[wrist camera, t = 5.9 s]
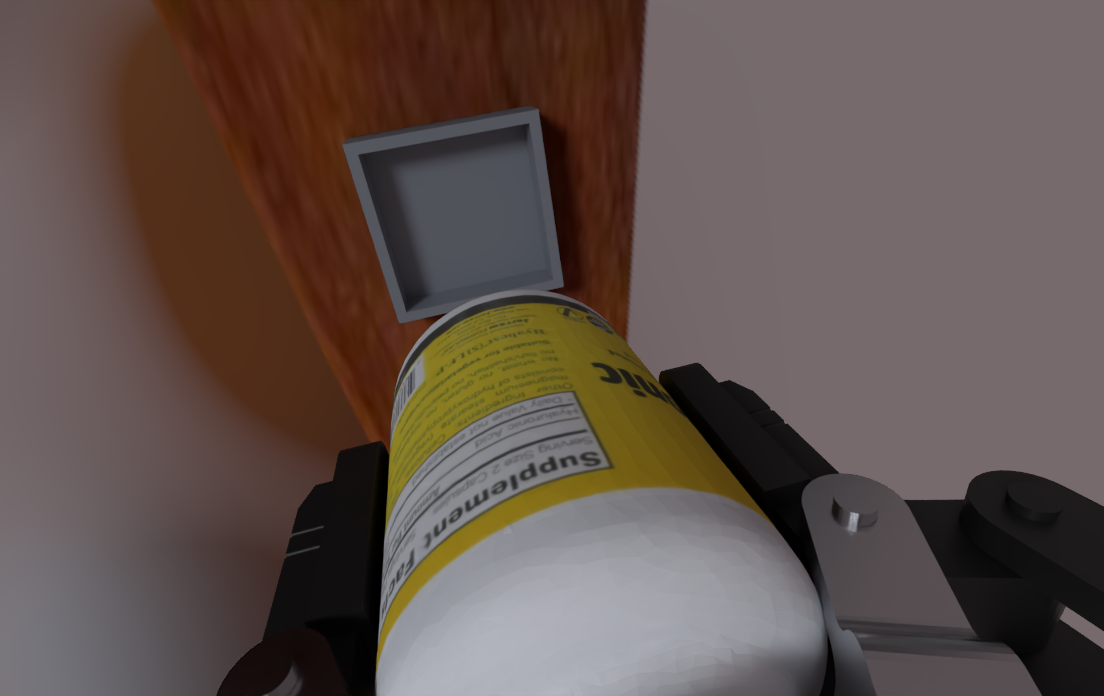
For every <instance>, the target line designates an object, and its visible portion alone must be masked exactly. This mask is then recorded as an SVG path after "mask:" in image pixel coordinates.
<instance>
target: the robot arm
mask: <svg viewBox="0 0 1104 696" xmlns="http://www.w3.org/2000/svg"><path fill="white" fill-rule="evenodd" d="M659 383H660V384H661V386H662V387H663V388H664V389H665V390H666V392H667V393H668V394H669V395H670V397H671V398H672V399H673V401H674V402H675V403H676V404H677V405H678V407H679V408H680V409H681V410H682V411H683V412H684V414H685V415H686V416H687V418H688V419H689V420H690V422H691V423H692V424H693V425H694V427H695V428H696V429H697V430H698V431H699V433H700V434H701V435H702V436H703V438H704V439H705V440H706V442H707V443H708V444H709V445H710V447H711V448H712V449H713V451H714V452H715V453H716V454H717V456H718V457H719V458H720V459H721V461H722V462H723V463H724V464H725V465H726V467H727V468H728V469H729V470H730V472H731V473H732V474H733V475H734V476H735V478H736V479H737V480H738V481H739V483H740V484H741V485H742V486H743V488H744V489H745V490H746V491H747V493H748V494H749V495H750V496H751V498H752V499H753V500H754V501H755V503H756V504H757V505H758V506H759V507H760V509H761V510H762V511H763V512H764V514H765V515H766V516H767V517H768V518H769V520H770V521H771V522H772V523H773V525H774V526H775V527H776V529H777V530H778V531H779V533H780V534H781V535H782V537H783V538H784V540H785V541H786V542H787V544H788V545H789V546H790V548H791V549H792V550H793V552H794V553H795V555H796V556H797V557H798V559H799V560H800V562H801V563H802V565H803V566H804V568H805V569H806V571H807V573H808V575H809V576H810V578H811V580H812V582H813V584H814V586H815V588H816V591H817V593H818V596H819V599H820V602H821V606H822V611H823V617H824V621H825V624H826V629H827V640H828V654H827V664H826V672H825V677H824V682H823V686H822V689H821V692H820V695H819V696H1104V649H1102V648H1101V647H1099V646H1098V645H1096V644H1095V643H1094V642H1092V641H1091V640H1089V639H1088V638H1086V637H1085V636H1084V635H1082V634H1081V633H1079V632H1078V631H1076V630H1075V629H1073V628H1072V627H1070V626H1069V625H1068V624H1066V623H1064V622H1063V621H1061V620H1060V616H1061V615H1062V613H1063V611H1064V609H1065V607H1066V606H1067V607H1068V608H1070V609H1071V610H1073V611H1074V612H1076V613H1077V614H1079V615H1080V616H1082V617H1083V618H1085V619H1086V620H1088V621H1089V622H1091V623H1092V624H1094V625H1095V626H1097V627H1098V628H1100V629H1101V630H1103V631H1104V506H1101V505H1099V504H1098V503H1096V502H1094V501H1092V500H1090V499H1088V498H1086V497H1084V496H1082V495H1080V494H1078V493H1076V492H1074V491H1072V490H1070V489H1068V488H1066V487H1064V486H1062V485H1060V484H1058V483H1056V482H1054V481H1051V480H1048V479H1046V478H1043V477H1039V476H1036V475H1033V474H1028V473H1023V472H1016V471H1003V470H1002V471H1001V470H1000V471H991V472H986V473H983V474H980V475H978V476H976V477H975V478H974V479H973V480H972V481H971V482H970V483H969V487H968V489H967V493H966V496H965V499H964V500H903V499H902V498H901V497H900V496H899V495H898V494H896V493H895V492H894V491H893V490H891V489H890V488H888V487H887V486H885V485H883V484H881V483H879V482H877V481H874V480H872V479H869V478H866V477H862V476H858V475H852V474H840V473H839V472H838V471H836V470H835V469H834V468H833V467H832V466H831V465H830V464H829V463H828V462H827V461H826V460H825V459H824V458H823V457H822V456H821V455H820V454H819V453H818V452H817V451H815V449H813V448H812V447H811V446H810V445H809V444H808V443H807V442H806V441H805V440H804V439H803V438H802V437H801V436H800V435H799V434H798V433H797V432H795V430H794V429H792V428H791V427H790V426H789V425H788V424H785V423H784V420H783V419H782V418H781V417H780V416H779V415H778V414H777V413H776V412H775V411H773V410H772V411H771V410H770V407H769V406H768V405H767V404H766V403H765V402H764V401H763V400H762V399H761V398H760V397H759V396H758V395H757V394H756V393H754V391H752V390H750V389H747V388H745V387H743V386H741V385H739V384H737V383H735V382H732V381H730V380H728V381H724V382H720V383H718V382H717V381H716V380H715V379H714V378H713V377H712V376H711V374H710V373H709V372H708V371H707V370H706V369H705V368H704V367H703V366H702V365H701V364H699V363H693V364H689V365H685V366H681V367H677V368H673V369H669V370H665V371H661V373H660V375H659ZM388 474H389V454H388V451H387V449H386V447H385V445H384V443H383V442H382V441H377V442H373V443H370V444H365V445H361V446H357V447H354V448H350V449H345V450H341V451H340V452H339V454H338V458H337V463H336V468H335V473H334V478H333V481H330V482H327V483H323V484H319V485H316V486H315V487H314V488H313V489H312V491H311V492H310V493H309V495H308V496H307V497H306V499H305V500H304V502H303V503H302V504H301V506H300V507H299V508H298V511H297V515H296V519H295V522H294V526H293V530H292V538H290V540H289V544H288V548H287V551H286V555H287V558H285V559H284V562H283V566H282V570H281V574H280V577H279V581H278V585H277V588H276V592H275V596H274V599H273V603H272V607H271V610H270V614H269V618H268V621H267V625H266V629H265V632H264V636H263V639H262V641H261V642H260V643H258V644H256V645H255V646H254V647H252V648H251V649H250V650H249V651H247V652H246V653H245V654H244V655H243V656H242V657H241V658H240V659H239V660H238V661H237V662H236V663H235V664H234V666H233V667H232V668H231V669H230V670H229V672H228V673H227V675H226V677H225V678H224V679H223V681H222V683H221V685H220V687H219V689H218V691H217V694H216V696H375V674H376V661H377V651H378V635H379V622H380V603H381V588H382V569H383V555H384V539H385V520H386V506H387V492H388Z"/></svg>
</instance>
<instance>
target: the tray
mask: <svg viewBox="0 0 1104 696" xmlns="http://www.w3.org/2000/svg"><path fill="white" fill-rule="evenodd" d="M342 145H343V148H344V151H345V155H346V158H347V161H348V164H349V167H350V170H351V173H352V177H353V180H354V183H355V186H356V189H357V192H358V195H359V199H360V202H361V205H362V208H363V211H364V214H365V217H366V221H367V224H368V227H369V230H370V233H371V236H372V239H373V243H374V246H375V249H376V252H377V255H378V258H379V261H380V265H381V268H382V271H383V274H384V277H385V280H386V283H387V287H388V290H389V293H390V296H391V299H392V302H393V305H394V309H395V312H396V315H397V318H398V321H399V324H400V323H404V322H409V321H413V320H418V319H422V318H427V317H431V316H436V315H440V314H445V313H449V312H451V311H452V310H454V309H456V308H457V307H459V306H461V305H463V304H465V303H467V302H469V301H471V300H474V299H477V298H480V297H482V296H486V295H490V294H494V293H498V292H503V291H510V290H520V289H524V290H542V291H547V290H552V289H556V288H561V287H564V283H563V276H562V269H561V262H560V255H559V248H558V241H557V235H556V228H555V221H554V214H553V207H552V200H551V193H550V186H549V179H548V172H547V165H546V158H545V151H544V144H543V137H542V130H541V123H540V117H539V110H538V109H536V108H533V107H531V106H525V107H520V108H514V109H509V110H503V111H497V112H492V113H486V114H481V115H475V116H470V117H464V118H458V119H453V120H447V121H442V122H436V123H430V124H425V125H419V126H414V127H408V128H403V129H397V130H391V131H386V132H380V133H375V134H369V135H364V136H358V137H352V138H348V139H347V140H346V141H345V142H344V143H343V144H342Z"/></svg>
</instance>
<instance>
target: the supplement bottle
mask: <svg viewBox="0 0 1104 696" xmlns="http://www.w3.org/2000/svg"><path fill="white" fill-rule="evenodd" d="M827 654H828V640H827V629H826V624H825V621H824V617H823V611H822V606H821V602H820V599H819V596H818V593H817V591H816V588H815V586H814V584H813V582H812V580H811V578H810V576H809V575H808V573H807V571H806V569H805V568H804V566H803V565H802V563H801V562H800V560H799V559H798V557H797V556H796V555H795V553H794V552H793V550H792V549H791V548H790V546H789V545H788V544H787V542H786V541H785V540H784V538H783V537H782V535H781V534H780V533H779V531H778V530H777V529H776V527H775V526H774V525H773V523H772V522H771V521H770V520H769V518H768V517H767V516H766V515H765V514H764V512H763V511H762V510H761V509H760V507H759V506H758V505H757V504H756V503H755V501H754V500H753V499H752V498H751V496H750V495H749V494H748V493H747V491H746V490H745V489H744V488H743V486H742V485H741V484H740V483H739V481H738V480H737V479H736V478H735V476H734V475H733V474H732V473H731V472H730V470H729V469H728V468H727V467H726V465H725V464H724V463H723V462H722V461H721V459H720V458H719V457H718V456H717V454H716V453H715V452H714V451H713V449H712V448H711V447H710V445H709V444H708V443H707V442H706V440H705V439H704V438H703V436H702V435H701V434H700V433H699V431H698V430H697V429H696V428H695V427H694V425H693V424H692V423H691V422H690V420H689V419H688V418H687V416H686V415H685V414H684V412H683V411H682V410H681V409H680V408H679V407H678V405H677V404H676V403H675V402H674V401H673V399H672V398H671V397H670V395H669V394H668V393H667V392H666V390H665V389H664V388H663V387H662V386H661V384H660V383H659V382H658V381H657V380H656V379H655V377H654V376H653V375H652V374H651V373H650V371H649V370H648V369H647V368H646V366H645V365H644V364H643V363H642V362H641V360H640V359H639V358H638V357H637V356H636V354H635V353H634V352H633V351H632V349H631V348H630V347H629V346H628V344H627V343H626V342H625V341H624V339H623V338H622V337H621V336H620V335H619V334H618V332H617V331H616V330H615V329H614V328H613V327H612V326H611V325H610V324H609V323H608V322H607V321H606V320H605V319H604V318H603V317H602V316H601V315H599V314H598V313H597V312H595V311H594V310H592V309H591V308H589V307H588V306H586V305H585V304H583V303H581V302H579V301H576V300H574V299H572V298H569V297H567V296H564V295H561V294H557V293H553V292H548V291H542V290H524V289H520V290H510V291H503V292H498V293H494V294H490V295H486V296H482V297H480V298H477V299H474V300H471V301H469V302H467V303H465V304H463V305H461V306H459V307H457V308H456V309H454V310H452V311H451V312H449V313H448V314H446V315H445V316H443V317H442V318H441V319H439V320H438V321H437V322H435V323H434V324H433V325H432V326H431V327H430V328H429V329H428V330H427V331H426V332H425V333H424V334H423V335H422V336H421V337H420V339H419V340H418V341H417V342H416V344H415V345H414V347H413V348H412V350H411V351H410V353H409V355H408V356H407V358H406V360H405V362H404V364H403V367H402V369H401V371H400V374H399V377H398V381H397V384H396V389H395V395H394V401H393V412H392V423H391V437H390V455H389V474H388V492H387V506H386V520H385V539H384V555H383V569H382V588H381V603H380V622H379V635H378V651H377V661H376V674H375V696H819V695H820V692H821V689H822V686H823V682H824V677H825V672H826V664H827Z"/></svg>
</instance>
